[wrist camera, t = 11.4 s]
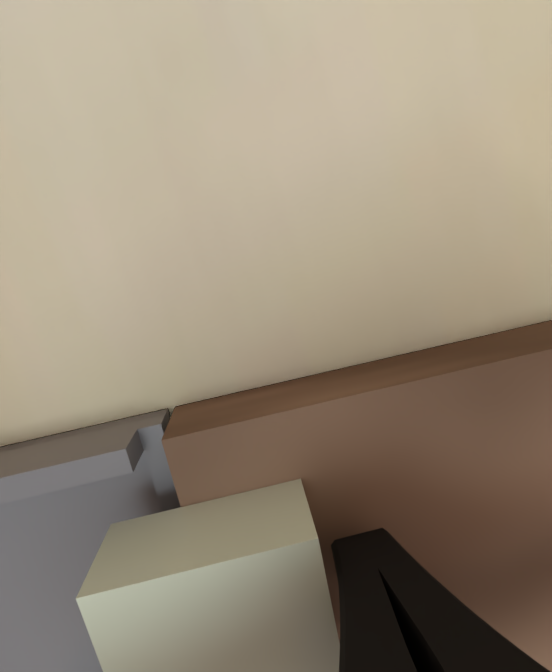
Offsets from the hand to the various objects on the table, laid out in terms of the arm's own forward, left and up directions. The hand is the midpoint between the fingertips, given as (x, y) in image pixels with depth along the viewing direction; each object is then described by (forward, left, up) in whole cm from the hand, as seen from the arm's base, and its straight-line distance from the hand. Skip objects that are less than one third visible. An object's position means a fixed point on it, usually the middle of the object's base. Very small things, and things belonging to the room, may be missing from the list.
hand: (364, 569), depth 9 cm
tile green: (0, +3, -1) cm, 3 cm away
